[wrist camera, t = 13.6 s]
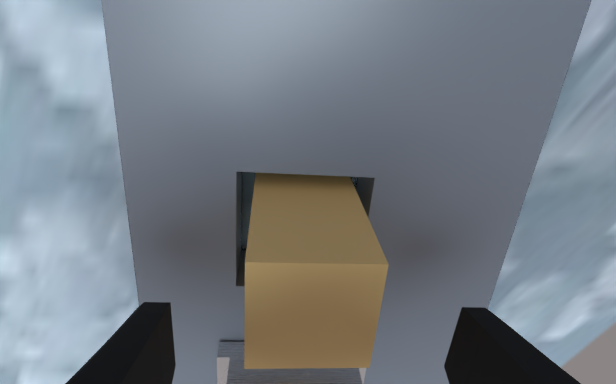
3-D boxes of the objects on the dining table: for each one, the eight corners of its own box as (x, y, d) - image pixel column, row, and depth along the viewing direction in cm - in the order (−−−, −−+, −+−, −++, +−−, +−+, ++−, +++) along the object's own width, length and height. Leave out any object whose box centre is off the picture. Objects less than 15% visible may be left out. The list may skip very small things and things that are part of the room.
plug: (335, 237, 18) (369, 367, 11) (255, 236, 17) (244, 368, 11) (344, 163, 16) (388, 264, 10) (257, 159, 16) (244, 262, 9)
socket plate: (589, -170, 12) (662, -210, 10) (436, 360, 21) (455, 402, 19) (108, -238, 11) (63, -303, 8) (165, 361, 20) (151, 406, 18)
